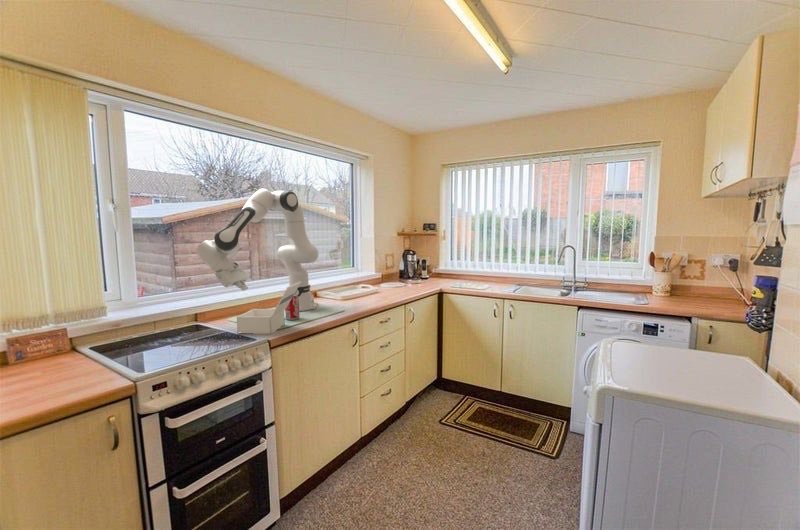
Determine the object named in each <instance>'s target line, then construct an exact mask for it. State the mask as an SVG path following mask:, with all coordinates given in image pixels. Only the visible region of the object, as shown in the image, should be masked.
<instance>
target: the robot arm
mask: <svg viewBox="0 0 800 530" xmlns="http://www.w3.org/2000/svg"><path fill="white" fill-rule="evenodd" d="M269 211H278V212H279V211H280V212H282V213H283V216H284V217H283V218H284V220H283V221H284V228H285V235H286V236H287V238H288V239H290V240H291V241H292V242H293V244H286V245H282V246H280V247H278V249H277V252H276V253H277V254H276V255H277V258H278V260H279V261H280V262H282V263H283V265H284V266H285V268H286V271H287V274H288V280H289V282H288V283H289V286H291V285H293V284H296V283H298V282H301V283H300V285H299V287H298V288H297V290H296V292H295V294H297V296H298V299H299V312H302V311H304V312H305V311H309V310H310V311H311V310H315V309H316V308H317V306H318V304H319V303H318V301H315V298H314V297H315V296H314V295H313V293H312V292H311V284H309V273H308V271H307V270H306V269H304V268H303V266H302V265H301V264H311V263H314V262H316V261H317V260H318V258H319V250H318V248H317V247H316V246H315V245H314V244H312V243H311V241H310V240H309V238H308V236H307V233H306V227H305V217H304V212H303V209H302V206H301V204H300V203H299V199H298V196H297V194H296V193H295V192H293V191H291V190H288V189H287V190H275V191H270V190H269V189H267V188H259V189H258V190H257V191H256V192H255V193H254V194H252V195H251V197H250V198H249V199H248V200H247V201H246V203H245V204H244V206H243V207H242V209H241V210H240V211H239V212H238V214H236V216H235V217H234V218H233V219H232V220H231V221H230V222H229V224H227V225H226V226H225V227H222V228H221V229H219V230H218V231H217V232H216V233H215V234H214V239H211V240H204V241H202V242H200V243H199V245H198V246H197V248H196V254H197V256H198V257H199V259H200V260H201V261H202V262H203V263H204V264H205V265H207V266H208V267H210V268H211V271H212V272H213V273H214V275H215V277H216V280H217V281H218V282H219V283H220V284H221V285H222V286H223V287H224V288H230V287H233V286H235V287H237V288H238V289H241V291H246V290H248V289H249V286H247V285H246V282H247V281H248V280H249V279H250V278H251V277H250V275H249V274H248V273H247V272H246V271H245V270H244V268H242V267H241V265H240V264H239V263H238V262H234V261H232V260H230V259H231V258H232V257H234V256H235V255H236V254H238V253H239V250H240V244H239V239H240V238H239V237H240V235H241V233H242V232H243V230H244V229H245V228H247V226H248V224H249V223H259V222H261V221H262V220H263V219H264V218H265V216H266V215H267V214H268V213H269Z"/></svg>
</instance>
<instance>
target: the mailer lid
mask: <svg viewBox="0 0 800 530" xmlns="http://www.w3.org/2000/svg"><path fill="white" fill-rule="evenodd" d="M300 283H301V282H298V283H296V284H293V285H291V286H290V285H289V286H287V287H286V289H285V291H284V293H283V295H282V297H280V300H279V301H278V303H277V305H276V306H275V308H274V309H275V310H274V312H273V313H272V315H271V317H273V316H275V315H276V314H278V313H280V312H281V311H283V310H284V311H285V309H286V307H287V306H288V304H289V302H290V300H291V299H292V297H293V296H294V294H295V292H296V290H297V288H298V287H299V285H300Z"/></svg>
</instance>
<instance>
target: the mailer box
mask: <svg viewBox="0 0 800 530" xmlns="http://www.w3.org/2000/svg"><path fill="white" fill-rule="evenodd" d="M274 310H275V308H251V309H250V310H248V311H246V312H244V313H241V314H240V315H238V316H236V324H237V325H236V327H237V333H238V332H241V333H253V334H252V335H272V334H273V333H275V332H276V331H277V329H278V328H279V329H280V328H282V327H283V326H284V324H285V310H283V311H281V312H280V313H278V314H276V315H275V316H273V317H271V315H272V313H273V312H274ZM282 325H283V326H282ZM281 326H282V327H281ZM279 329H278V330H279Z"/></svg>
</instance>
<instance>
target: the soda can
mask: <svg viewBox="0 0 800 530" xmlns="http://www.w3.org/2000/svg"><path fill="white" fill-rule="evenodd" d="M284 314H285V319H286V320H287V319H288V320H287V321H295V320H294V319H296V320H298V319H299V318H300V311H299V299H298V296H297V294H294V296H293V297H292V299H291V300H290V302H289V304H288V306H287V307H286V309H285V310H284Z"/></svg>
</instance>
